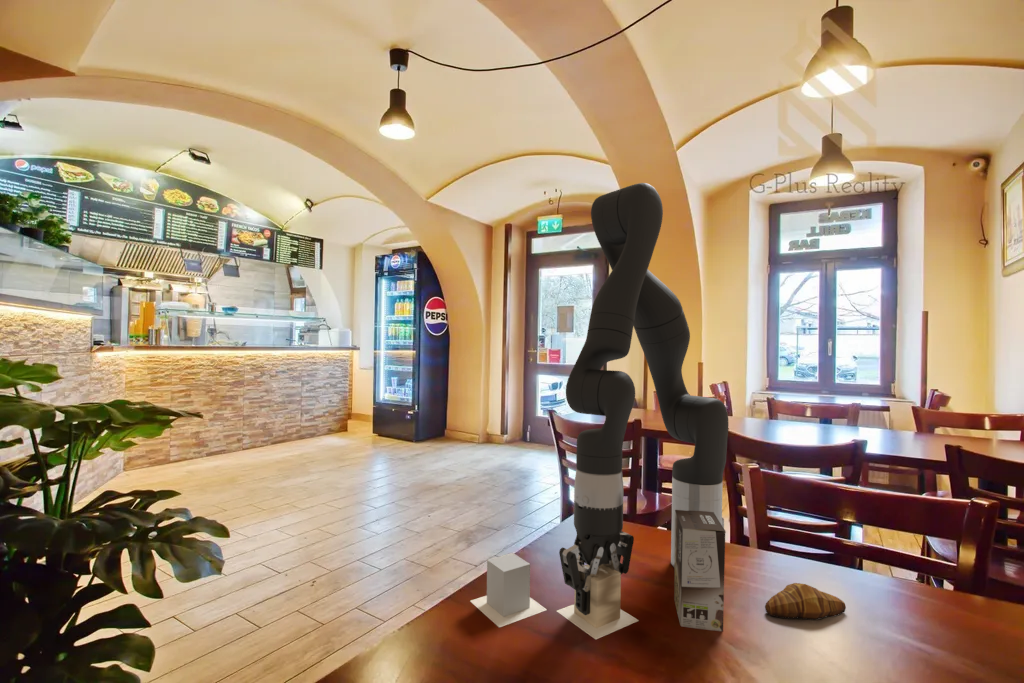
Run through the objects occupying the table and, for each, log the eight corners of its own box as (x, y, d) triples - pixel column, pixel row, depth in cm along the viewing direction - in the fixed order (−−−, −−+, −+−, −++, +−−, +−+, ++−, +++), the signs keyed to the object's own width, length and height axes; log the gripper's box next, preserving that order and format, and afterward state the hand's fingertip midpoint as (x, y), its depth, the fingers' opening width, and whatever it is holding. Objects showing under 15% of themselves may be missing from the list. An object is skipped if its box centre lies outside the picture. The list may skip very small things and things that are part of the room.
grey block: (512, 594, 85) (512, 552, 85) (529, 607, 81) (530, 564, 81) (486, 602, 82) (487, 559, 82) (503, 617, 78) (503, 571, 78)
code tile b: (515, 593, 88) (515, 586, 88) (547, 617, 80) (547, 609, 80) (469, 608, 83) (469, 600, 83) (499, 635, 75) (499, 627, 75)
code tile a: (597, 602, 85) (597, 595, 85) (638, 628, 78) (639, 620, 78) (556, 618, 80) (556, 610, 80) (595, 647, 73) (595, 639, 73)
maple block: (597, 603, 82) (598, 560, 82) (620, 618, 78) (620, 573, 78) (574, 612, 80) (574, 568, 80) (596, 628, 75) (597, 581, 75)
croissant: (827, 601, 87) (828, 572, 87) (859, 624, 80) (859, 592, 80) (753, 605, 86) (754, 575, 85) (779, 628, 79) (779, 596, 79)
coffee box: (725, 640, 75) (726, 531, 75) (679, 634, 76) (681, 527, 76) (713, 607, 84) (715, 510, 84) (672, 603, 85) (674, 507, 85)
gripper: (614, 485, 86) (612, 585, 86) (547, 499, 78) (545, 609, 78) (648, 497, 80) (647, 604, 80) (579, 513, 72) (578, 633, 72)
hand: (596, 606), depth 79 cm, fingers closed on maple block, 5 cm apart
